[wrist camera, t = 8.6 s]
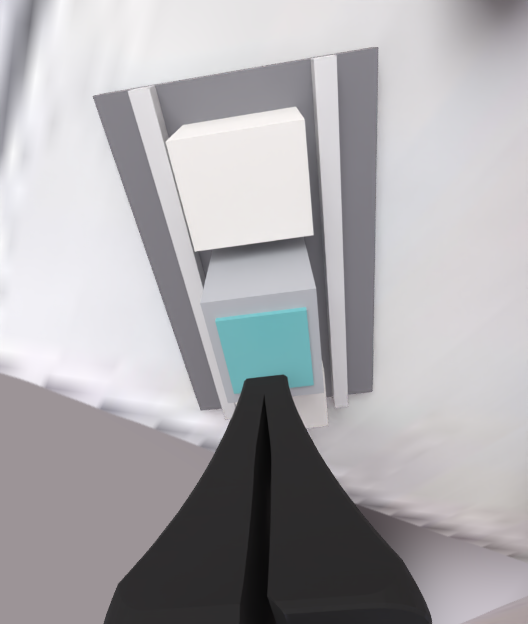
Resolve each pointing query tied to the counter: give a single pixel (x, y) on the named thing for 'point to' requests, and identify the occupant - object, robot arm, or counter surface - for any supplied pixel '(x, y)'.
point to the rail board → (351, 195)
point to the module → (264, 315)
